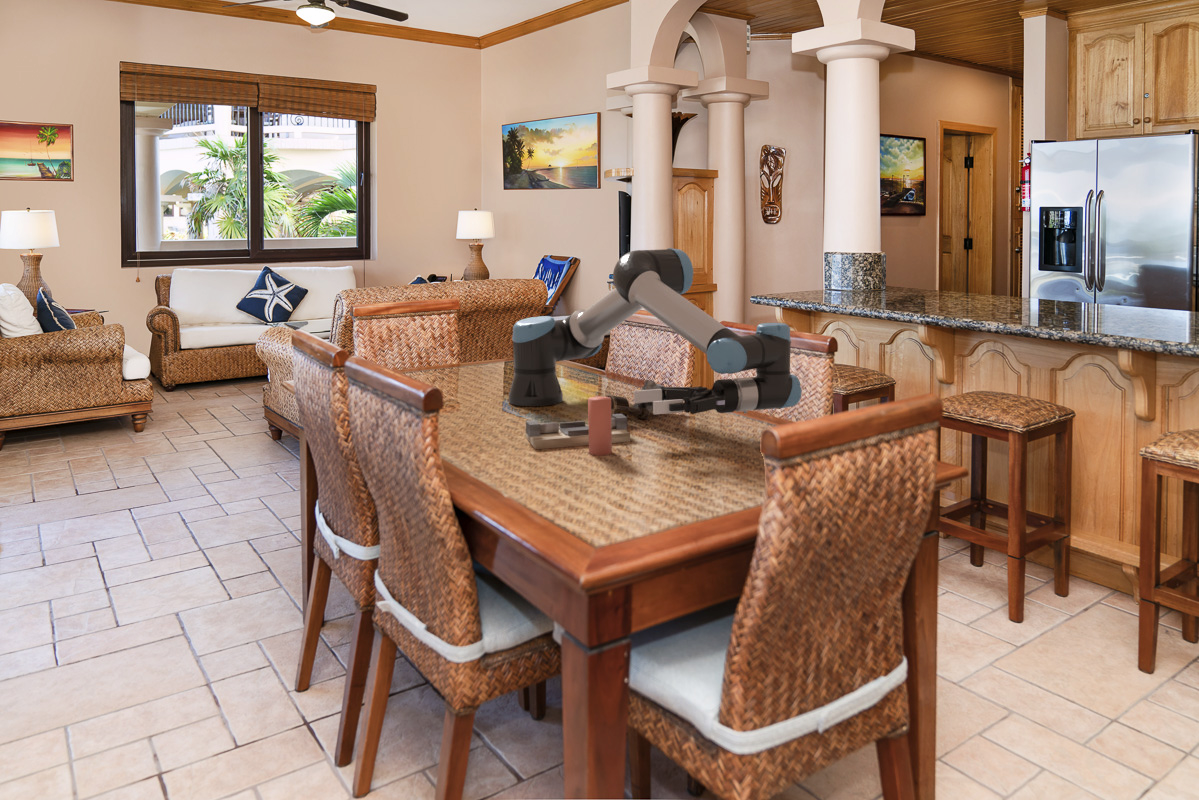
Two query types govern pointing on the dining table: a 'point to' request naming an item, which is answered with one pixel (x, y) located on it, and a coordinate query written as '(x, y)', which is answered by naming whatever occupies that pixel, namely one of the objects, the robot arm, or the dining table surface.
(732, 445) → the dining table surface
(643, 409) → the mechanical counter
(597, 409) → the red tall block
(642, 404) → the mineral specimen
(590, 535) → the dining table surface
